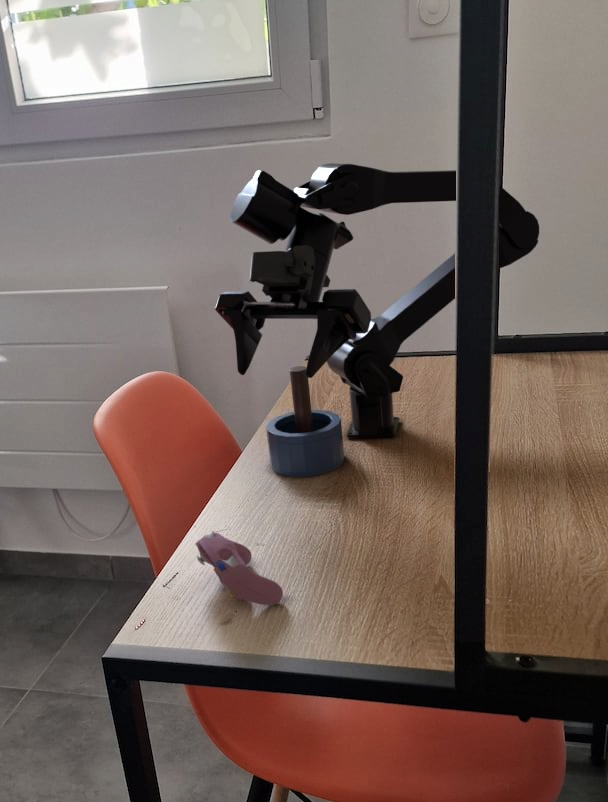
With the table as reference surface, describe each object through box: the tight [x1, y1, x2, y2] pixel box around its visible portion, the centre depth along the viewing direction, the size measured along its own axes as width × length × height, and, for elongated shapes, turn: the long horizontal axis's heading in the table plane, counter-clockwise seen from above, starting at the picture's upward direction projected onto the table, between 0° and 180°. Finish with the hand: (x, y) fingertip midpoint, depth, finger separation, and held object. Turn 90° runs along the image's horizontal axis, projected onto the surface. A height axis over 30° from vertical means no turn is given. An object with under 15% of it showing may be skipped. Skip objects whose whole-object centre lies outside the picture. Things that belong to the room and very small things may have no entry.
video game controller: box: [195, 530, 284, 606], centre depth 79 cm, size 10×5×7 cm, turn 21°
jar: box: [265, 409, 345, 478], centre depth 106 cm, size 9×9×6 cm
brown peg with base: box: [288, 365, 314, 433], centre depth 104 cm, size 4×4×12 cm
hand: (273, 374), depth 97 cm, fingers open, 9 cm apart
